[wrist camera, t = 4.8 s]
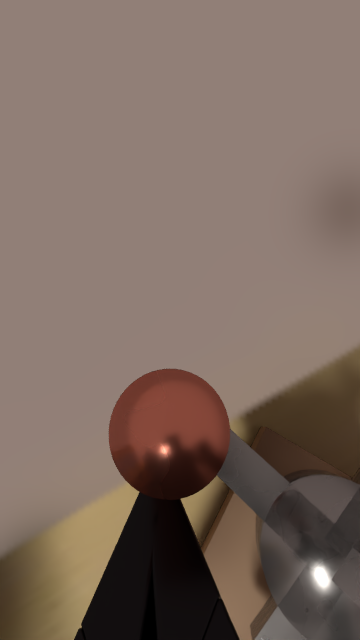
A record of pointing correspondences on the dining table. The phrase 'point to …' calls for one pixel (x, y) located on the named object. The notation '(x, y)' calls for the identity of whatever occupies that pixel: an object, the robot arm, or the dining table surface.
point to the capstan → (249, 502)
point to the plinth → (250, 535)
